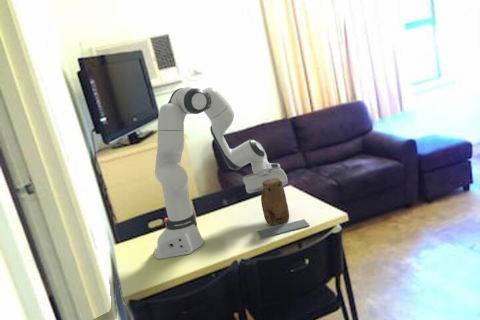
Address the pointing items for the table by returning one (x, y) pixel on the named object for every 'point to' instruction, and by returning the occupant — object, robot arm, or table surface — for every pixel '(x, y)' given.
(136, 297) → the table surface
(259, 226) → the table surface
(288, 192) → the table surface
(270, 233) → the mat
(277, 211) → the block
